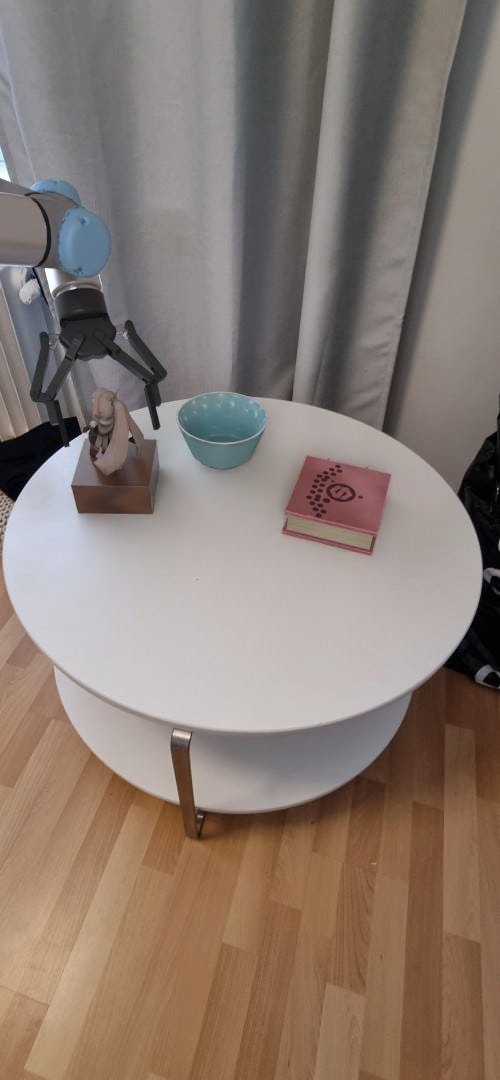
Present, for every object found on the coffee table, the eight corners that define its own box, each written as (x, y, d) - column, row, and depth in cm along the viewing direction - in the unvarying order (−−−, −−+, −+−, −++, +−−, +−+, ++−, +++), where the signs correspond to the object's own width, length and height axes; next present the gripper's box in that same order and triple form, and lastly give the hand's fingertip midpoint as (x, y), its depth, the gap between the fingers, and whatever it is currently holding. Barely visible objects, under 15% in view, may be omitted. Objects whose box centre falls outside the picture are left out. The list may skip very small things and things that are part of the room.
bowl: (186, 424, 112) (184, 387, 106) (268, 431, 111) (270, 393, 105) (171, 478, 101) (168, 439, 95) (262, 485, 100) (264, 447, 94)
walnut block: (77, 513, 94) (70, 485, 90) (90, 465, 103) (84, 437, 98) (152, 514, 95) (149, 486, 90) (159, 466, 103) (156, 439, 99)
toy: (110, 431, 99) (118, 363, 86) (147, 461, 97) (161, 397, 85) (69, 457, 93) (72, 389, 81) (108, 490, 92) (117, 426, 80)
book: (386, 493, 100) (392, 470, 97) (371, 556, 90) (377, 533, 86) (304, 474, 103) (307, 452, 99) (281, 533, 93) (284, 510, 89)
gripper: (157, 295, 94) (188, 426, 95) (-7, 316, 87) (29, 456, 88) (163, 275, 86) (197, 416, 88) (-15, 296, 80) (24, 449, 81)
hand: (113, 437), depth 88 cm, fingers open, 13 cm apart
